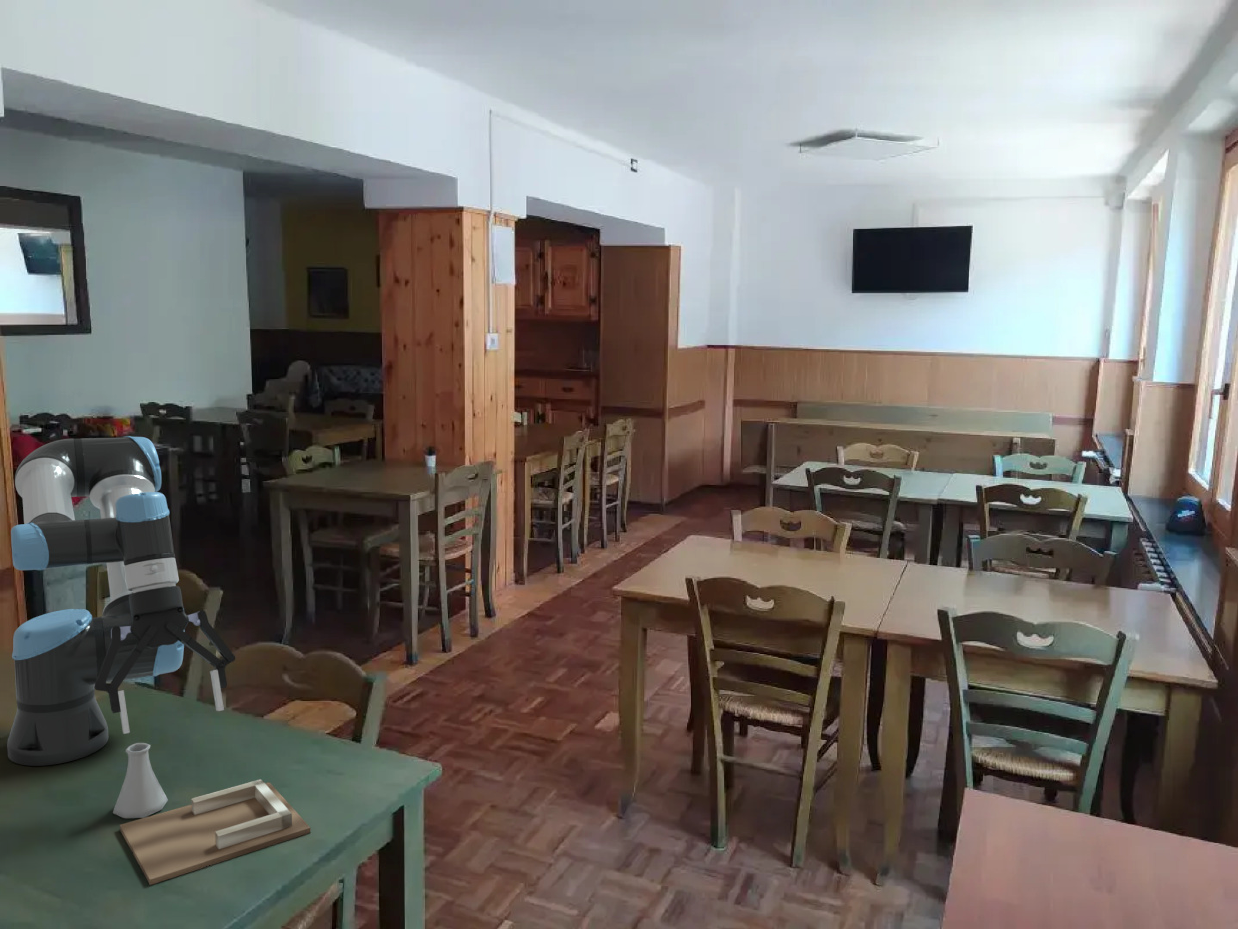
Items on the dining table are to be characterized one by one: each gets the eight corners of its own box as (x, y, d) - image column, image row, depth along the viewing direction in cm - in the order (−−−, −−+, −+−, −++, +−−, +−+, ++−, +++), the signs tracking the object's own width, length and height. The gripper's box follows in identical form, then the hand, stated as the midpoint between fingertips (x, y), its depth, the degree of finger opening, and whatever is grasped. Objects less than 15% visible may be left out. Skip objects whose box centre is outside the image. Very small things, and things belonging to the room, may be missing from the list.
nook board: (119, 830, 139) (119, 812, 139) (269, 787, 153) (269, 770, 153) (150, 885, 126) (149, 866, 126) (310, 832, 140) (310, 815, 140)
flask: (145, 823, 141) (142, 760, 140) (103, 816, 143) (99, 754, 141) (177, 799, 148) (174, 740, 147) (136, 793, 150) (133, 734, 148)
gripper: (65, 602, 141) (85, 744, 139) (240, 572, 155) (261, 701, 153) (64, 605, 148) (83, 741, 145) (232, 577, 161) (252, 701, 159)
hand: (174, 721), depth 149 cm, fingers open, 13 cm apart
